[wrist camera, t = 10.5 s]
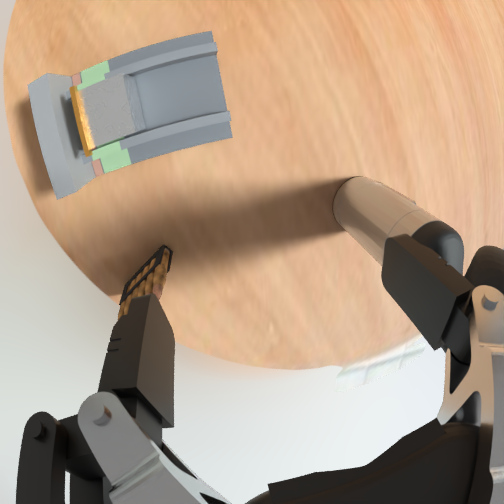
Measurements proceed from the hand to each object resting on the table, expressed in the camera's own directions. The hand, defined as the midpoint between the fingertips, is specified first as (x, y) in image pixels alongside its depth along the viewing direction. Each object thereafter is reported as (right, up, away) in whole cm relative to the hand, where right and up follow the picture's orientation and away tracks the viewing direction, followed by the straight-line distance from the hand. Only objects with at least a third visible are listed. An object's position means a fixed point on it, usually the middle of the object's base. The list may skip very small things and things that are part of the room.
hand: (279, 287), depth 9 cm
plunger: (-18, +19, +19) cm, 32 cm away
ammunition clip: (-17, -2, +33) cm, 37 cm away
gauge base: (-15, +20, +20) cm, 32 cm away
